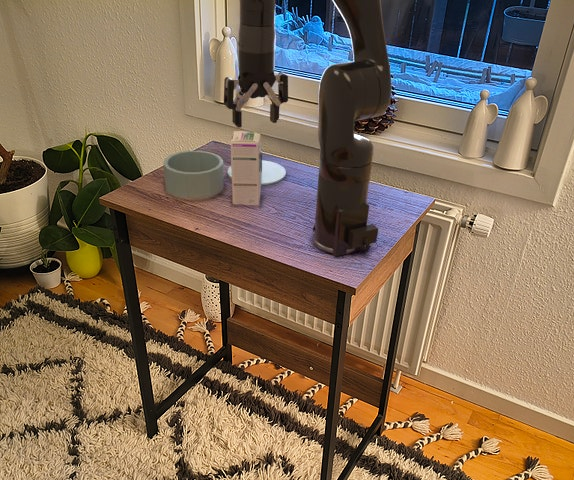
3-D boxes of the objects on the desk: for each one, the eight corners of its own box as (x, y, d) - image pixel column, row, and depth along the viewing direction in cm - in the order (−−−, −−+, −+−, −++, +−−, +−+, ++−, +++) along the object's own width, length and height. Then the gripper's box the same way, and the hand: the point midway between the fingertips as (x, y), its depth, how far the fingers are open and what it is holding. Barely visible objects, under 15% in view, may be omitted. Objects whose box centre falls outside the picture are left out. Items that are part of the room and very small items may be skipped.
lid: (296, 182, 133) (297, 158, 130) (241, 192, 128) (241, 167, 124) (270, 160, 143) (270, 137, 139) (218, 169, 138) (217, 145, 134)
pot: (232, 195, 126) (231, 168, 123) (176, 205, 122) (174, 177, 118) (211, 173, 136) (210, 147, 132) (158, 181, 131) (156, 155, 127)
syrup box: (259, 207, 122) (260, 141, 114) (231, 206, 122) (230, 140, 114) (261, 195, 127) (261, 131, 119) (234, 194, 127) (233, 129, 118)
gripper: (231, 54, 113) (232, 134, 122) (296, 48, 119) (292, 125, 128) (217, 45, 118) (219, 122, 128) (279, 40, 124) (277, 115, 133)
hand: (256, 124), depth 128 cm, fingers open, 8 cm apart
